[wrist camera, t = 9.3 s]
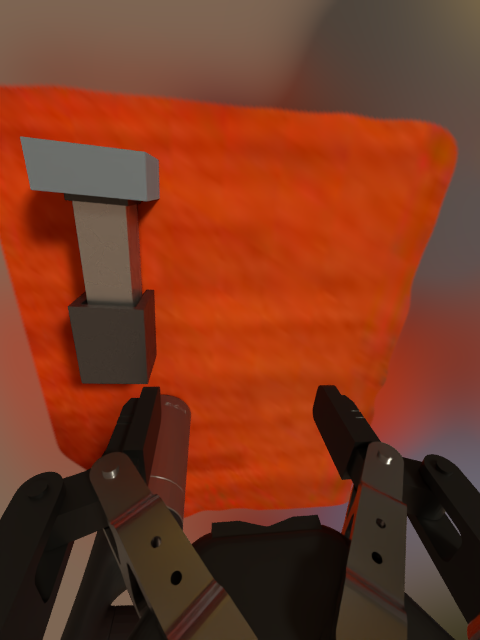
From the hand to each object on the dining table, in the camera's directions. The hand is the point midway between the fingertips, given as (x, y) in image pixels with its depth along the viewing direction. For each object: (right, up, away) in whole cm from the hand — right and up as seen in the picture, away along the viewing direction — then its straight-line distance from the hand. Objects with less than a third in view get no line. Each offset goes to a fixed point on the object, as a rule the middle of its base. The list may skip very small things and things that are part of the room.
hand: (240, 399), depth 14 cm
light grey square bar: (-15, +13, +20) cm, 29 cm away
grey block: (-14, +20, +17) cm, 30 cm away
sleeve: (-16, +3, +25) cm, 30 cm away
